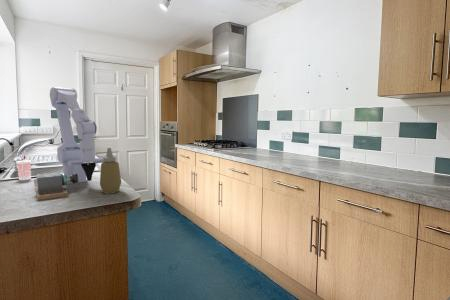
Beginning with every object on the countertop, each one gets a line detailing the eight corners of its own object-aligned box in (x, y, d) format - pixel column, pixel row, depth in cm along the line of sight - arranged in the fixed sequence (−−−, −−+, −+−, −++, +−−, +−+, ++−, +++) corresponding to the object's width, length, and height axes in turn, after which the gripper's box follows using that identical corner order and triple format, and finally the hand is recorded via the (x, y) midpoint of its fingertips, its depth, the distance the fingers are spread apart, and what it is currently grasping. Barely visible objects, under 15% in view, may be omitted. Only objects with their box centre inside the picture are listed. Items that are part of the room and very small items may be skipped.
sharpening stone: (61, 185, 121) (60, 169, 120) (68, 196, 104) (66, 178, 103) (35, 188, 115) (34, 172, 115) (37, 200, 98) (36, 181, 97)
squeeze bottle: (100, 195, 105) (98, 149, 103) (99, 190, 112) (97, 147, 110) (122, 193, 108) (121, 148, 106) (120, 188, 115) (118, 146, 113)
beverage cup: (34, 177, 137) (32, 150, 136) (30, 179, 131) (28, 151, 130) (19, 178, 135) (17, 150, 134) (15, 180, 129) (12, 151, 128)
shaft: (76, 182, 117) (76, 171, 116) (78, 185, 113) (77, 173, 112) (34, 188, 108) (33, 175, 108) (34, 190, 104) (33, 177, 104)
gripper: (69, 151, 109) (71, 184, 110) (107, 149, 117) (109, 179, 119) (67, 149, 114) (69, 181, 116) (104, 147, 123) (105, 177, 124)
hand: (89, 180), depth 118 cm, fingers closed
